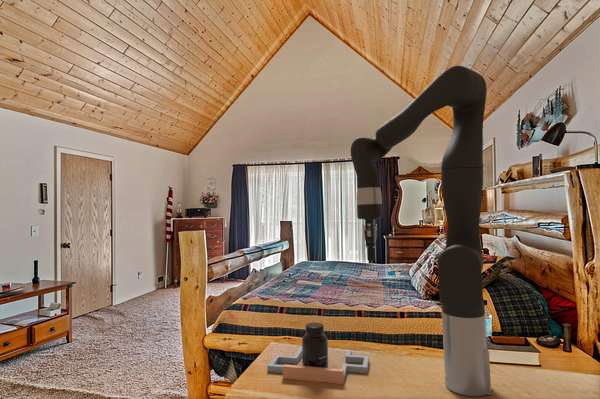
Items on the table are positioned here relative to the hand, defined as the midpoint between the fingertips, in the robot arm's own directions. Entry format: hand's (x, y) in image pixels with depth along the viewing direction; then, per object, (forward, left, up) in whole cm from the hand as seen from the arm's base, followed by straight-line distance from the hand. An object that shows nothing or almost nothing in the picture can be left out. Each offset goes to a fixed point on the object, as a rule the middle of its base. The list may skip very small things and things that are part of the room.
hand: (371, 260), depth 107 cm
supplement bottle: (+15, +16, -27) cm, 35 cm away
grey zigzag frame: (+14, +13, -27) cm, 33 cm away
